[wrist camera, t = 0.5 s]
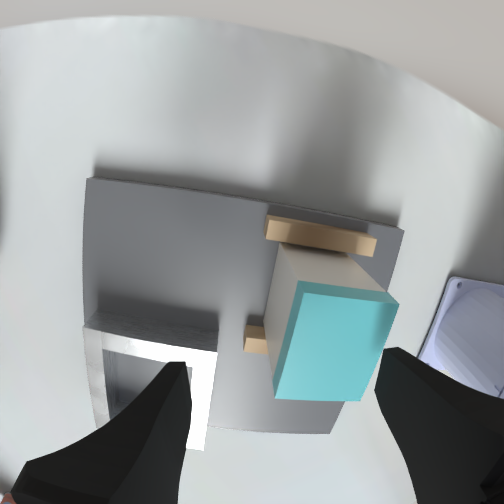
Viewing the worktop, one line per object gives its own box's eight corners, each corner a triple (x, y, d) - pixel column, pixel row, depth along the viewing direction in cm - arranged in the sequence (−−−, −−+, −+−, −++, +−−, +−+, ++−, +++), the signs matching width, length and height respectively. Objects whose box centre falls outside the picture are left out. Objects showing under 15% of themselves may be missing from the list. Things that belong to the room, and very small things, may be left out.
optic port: (219, 330, 20) (217, 352, 17) (205, 425, 22) (202, 449, 20) (97, 308, 19) (82, 327, 16) (105, 406, 21) (96, 427, 19)
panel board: (397, 227, 19) (404, 230, 18) (327, 425, 24) (329, 433, 23) (93, 177, 18) (86, 178, 17) (97, 395, 22) (93, 403, 21)
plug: (346, 252, 19) (399, 304, 12) (325, 328, 20) (359, 401, 13) (279, 241, 18) (304, 292, 11) (262, 321, 20) (274, 398, 13)
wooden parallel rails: (367, 233, 18) (377, 239, 17) (333, 347, 20) (339, 360, 19) (266, 214, 18) (269, 219, 16) (243, 338, 20) (243, 351, 18)
